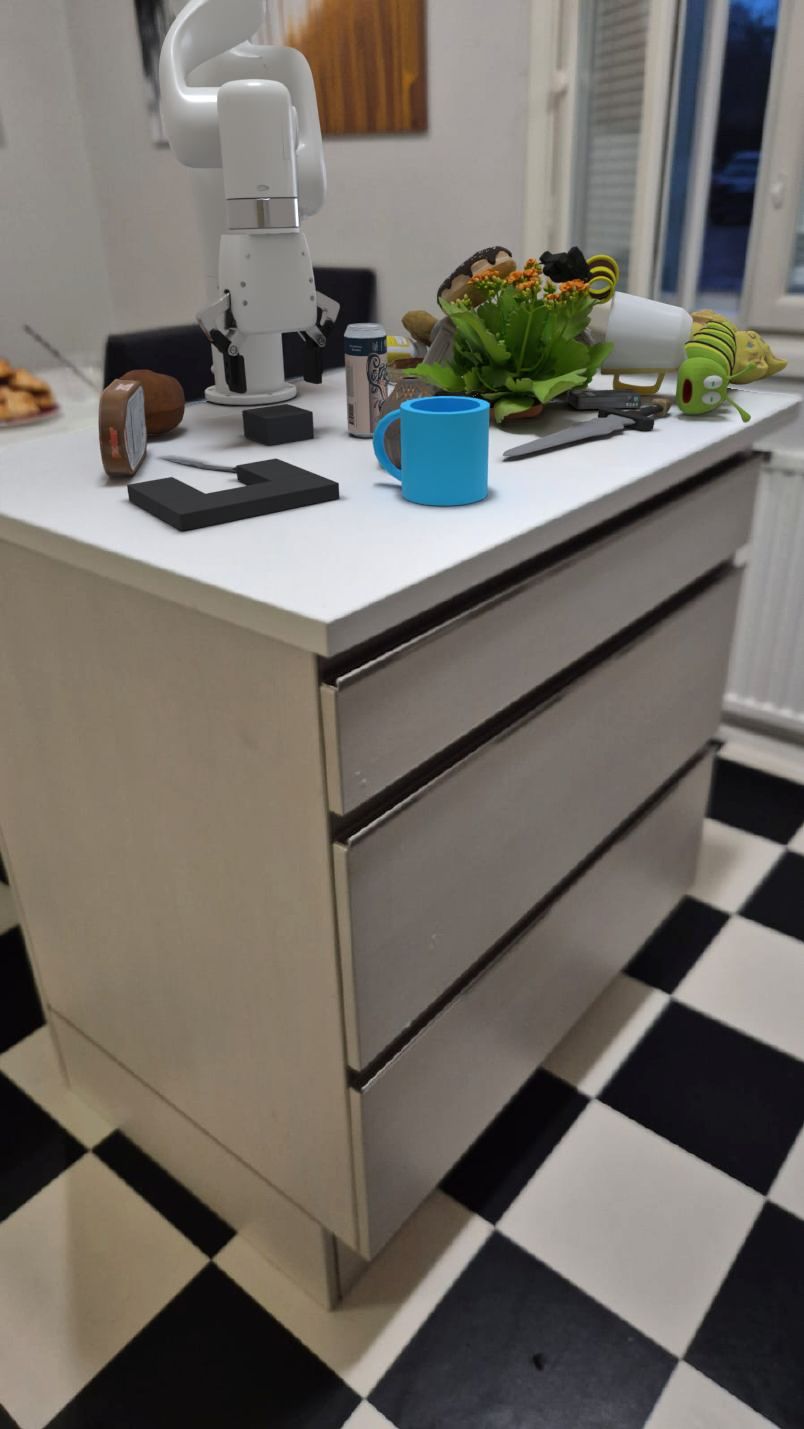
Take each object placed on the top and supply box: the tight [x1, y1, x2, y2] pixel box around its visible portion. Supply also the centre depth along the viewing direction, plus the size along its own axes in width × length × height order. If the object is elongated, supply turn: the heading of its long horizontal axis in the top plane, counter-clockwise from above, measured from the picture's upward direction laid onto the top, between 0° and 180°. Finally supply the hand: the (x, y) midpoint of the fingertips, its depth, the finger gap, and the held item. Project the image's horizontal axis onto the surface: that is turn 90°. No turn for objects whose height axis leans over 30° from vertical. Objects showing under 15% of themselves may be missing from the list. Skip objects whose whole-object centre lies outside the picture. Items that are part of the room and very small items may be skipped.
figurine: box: [678, 308, 788, 386], centre depth 139 cm, size 11×9×15 cm
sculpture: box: [401, 309, 439, 349], centre depth 154 cm, size 13×4×15 cm
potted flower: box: [402, 258, 614, 424], centre depth 122 cm, size 25×24×18 cm
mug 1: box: [372, 395, 490, 507], centre depth 93 cm, size 12×8×8 cm
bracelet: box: [387, 356, 425, 384], centre depth 146 cm, size 9×9×3 cm
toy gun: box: [538, 245, 593, 284], centre depth 123 cm, size 20×3×6 cm
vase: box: [378, 376, 434, 469], centre depth 101 cm, size 7×7×9 cm
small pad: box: [241, 403, 315, 446], centre depth 115 cm, size 6×6×3 cm
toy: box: [675, 320, 757, 424], centre depth 127 cm, size 8×28×10 cm
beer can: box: [343, 322, 389, 439], centre depth 113 cm, size 5×5×12 cm
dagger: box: [502, 398, 672, 457], centre depth 113 cm, size 8×32×2 cm, turn 143°
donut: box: [436, 245, 518, 316], centre depth 126 cm, size 11×12×4 cm
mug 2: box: [600, 290, 693, 396], centre depth 129 cm, size 14×10×10 cm
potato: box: [118, 369, 186, 436], centre depth 116 cm, size 8×11×8 cm
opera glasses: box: [558, 254, 620, 318], centre depth 127 cm, size 10×5×5 cm
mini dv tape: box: [567, 389, 642, 410], centre depth 128 cm, size 8×2×6 cm
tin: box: [97, 378, 148, 477], centre depth 103 cm, size 15×3×8 cm, turn 5°
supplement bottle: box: [387, 335, 428, 364], centre depth 150 cm, size 5×5×10 cm
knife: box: [160, 457, 237, 474], centre depth 104 cm, size 17×1×3 cm
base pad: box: [126, 457, 340, 532], centre depth 93 cm, size 12×16×2 cm
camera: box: [422, 305, 480, 397], centre depth 136 cm, size 11×6×10 cm
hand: (276, 387), depth 112 cm, fingers open, 9 cm apart
